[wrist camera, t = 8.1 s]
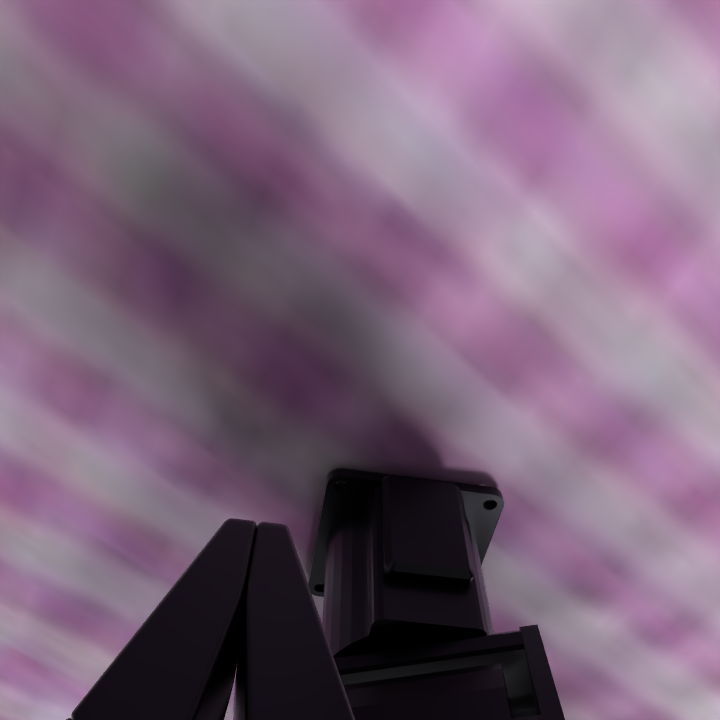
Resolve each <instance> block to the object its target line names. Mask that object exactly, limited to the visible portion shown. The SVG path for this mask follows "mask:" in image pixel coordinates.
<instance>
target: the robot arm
mask: <svg viewBox="0 0 720 720" xmlns="http://www.w3.org/2000/svg"><path fill="white" fill-rule="evenodd" d="M338 481H342V482H345V483H344V484H337V483H336V482H338ZM487 500H493V501H491V502H485V501H487ZM503 506H504V501H503V497H502V494H501V492H500V491H499V490H498V489H497V488H493V487H487V486H479V485H471V484H463V483H455V482H447V481H438V480H430V479H422V478H414V477H406V476H398V475H390V474H382V473H374V472H366V471H358V470H350V469H335V470H332V471H331V472H330V473H329V474H328V476H327V480H326V486H325V491H324V497H323V502H322V508H321V513H320V518H319V524H318V529H317V535H316V540H315V546H314V551H313V557H312V562H311V568H310V573H309V579H308V583H307V580H306V577H305V574H304V571H303V569H302V566H301V563H300V560H299V557H298V554H297V551H296V548H295V546H294V543H293V540H292V537H291V534H290V531H289V529H288V527H287V526H286V525H283V524H276V523H267V522H261V523H259V524H258V526H257V525H256V523H255V522H254V521H250V520H241V519H228V520H227V521H225V522H224V524H223V525H222V526H221V527H220V528H219V530H218V531H217V532H216V533H215V535H214V536H213V537H212V538H211V540H210V541H209V542H208V543H207V545H206V546H205V547H204V548H203V550H202V551H201V552H200V553H199V555H198V556H197V557H196V558H195V560H194V561H193V562H192V563H191V565H190V566H189V567H188V568H187V570H186V571H185V572H184V573H183V575H182V576H181V577H180V578H179V580H178V581H177V582H176V583H175V585H174V586H173V587H172V588H171V590H170V591H169V592H168V593H167V595H166V596H165V597H164V598H163V600H162V601H161V602H160V603H159V605H158V606H157V607H156V608H155V610H154V611H153V612H152V613H151V615H150V616H149V617H148V618H147V620H146V621H145V622H144V623H143V625H142V626H141V627H140V628H139V630H138V631H137V632H136V633H135V635H134V636H133V637H132V638H131V640H130V641H129V642H128V643H127V645H126V646H125V647H124V648H123V650H122V651H121V652H120V653H119V655H118V656H117V657H116V658H115V660H114V661H113V662H112V663H111V665H110V666H109V667H108V668H107V670H106V671H105V672H104V673H103V675H102V676H101V677H100V678H99V680H98V681H97V682H96V683H95V685H94V686H93V687H92V688H91V690H90V691H89V692H88V693H87V695H86V696H85V697H84V698H83V700H82V701H81V702H80V703H79V705H78V706H77V707H76V708H75V710H74V711H73V712H72V719H71V718H68V719H66V720H224V717H225V714H226V710H227V706H228V703H229V699H230V695H231V691H232V687H233V683H234V678H235V673H236V680H235V693H234V714H233V720H565V718H564V715H563V711H562V708H561V705H560V701H559V698H558V694H557V691H556V687H555V684H554V680H553V677H552V674H551V670H550V667H549V663H548V660H547V656H546V653H545V649H544V646H543V643H542V639H541V636H540V632H539V629H538V625H531V626H524V627H520V630H519V631H512V632H505V633H498V634H494V631H493V626H492V621H491V615H490V610H489V605H488V599H487V594H486V589H485V584H484V578H483V573H482V568H481V565H482V562H483V559H484V557H485V554H486V551H487V549H488V546H489V544H490V541H491V538H492V536H493V533H494V530H495V528H496V525H497V522H498V520H499V517H500V514H501V512H502V509H503ZM312 594H313V595H316V596H321V597H324V605H323V623H321V620H320V617H319V615H318V612H317V609H316V606H315V603H314V600H313V597H312ZM236 668H237V671H236Z"/></svg>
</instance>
